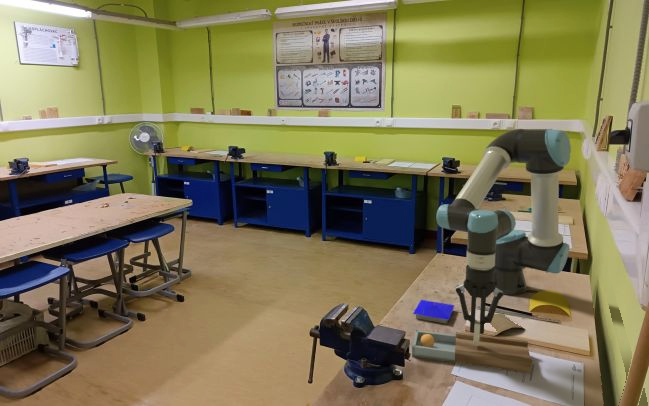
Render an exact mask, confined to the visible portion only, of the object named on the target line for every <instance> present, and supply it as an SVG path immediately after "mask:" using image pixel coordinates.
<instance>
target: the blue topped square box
mask: <svg viewBox="0 0 649 406" xmlns="http://www.w3.org/2000/svg"><path fill="white" fill-rule="evenodd" d="M454 308H455V305H454V304H449V303H444V302H443V303H442V302H437V301H429V300H425V299H420V301H419V303H418V304H417V306H416V308H415V310H414V311H413V313H412V314H413V315H415V319H419V320H423V321H429V322H436V323H442V324H448V321H449V320H450V318H451V315H452V312H453V310H454Z"/></svg>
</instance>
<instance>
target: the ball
mask: <svg viewBox="0 0 649 406" xmlns="http://www.w3.org/2000/svg"><path fill="white" fill-rule="evenodd" d="M421 344H422V345H423V346H424V347H432V346H433V345H434V338H433V336H431V335H430V334H425V335H423V336H422V337H421Z"/></svg>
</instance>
